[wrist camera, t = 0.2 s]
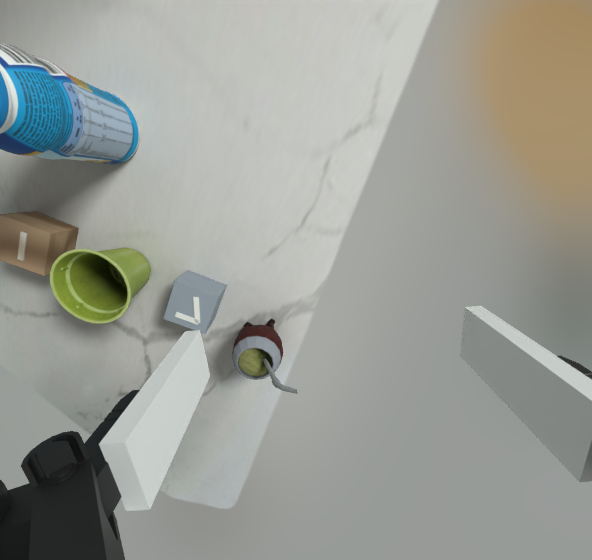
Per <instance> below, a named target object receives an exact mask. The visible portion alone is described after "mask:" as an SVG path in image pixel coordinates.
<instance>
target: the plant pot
mask: <svg viewBox="0 0 592 560" xmlns="http://www.w3.org/2000/svg"><path fill="white" fill-rule="evenodd" d="M114 270H116V272H117V274H118V275H119V276H120V278H118V277H117V276H116V275H115V273H114ZM150 271H151V269H150V265H149V262H148V261H147V259H146V258H145V256H144V255H143V254H141V253H140V252H138V251H136V250H133V249H130V248H120V249H112V250H105V251H94V250H89V249H75V250H71V251H68V252H66V253H64V254H62V255H61V256H59V257H58V258H57V259H56V260H55V262H54V263H53V265H52V268H51V272H50V284H51V288H52V291H53V293H54V295H55V297H56V299H57V300H58V302H59V303H60V304H61V305H62V307H63V308H64V309H65V310H67V311H68V312H69V313H70V314H72V315H73V316H75V317H77V318H79V319H81V320H84V321H86V322H90V323H96V324H102V323H109V322H112V321H114V320H116V319H118V318H119V317H121V316H122V315H123V314H124V313H125V311H126V310H127V308H128V307H129V304H130V301H131V299H132V297H133V296H134V295H135V294H136V293H137V292H138V291H139V290H140V289H141V288H142V287H143V286H144V285H145V284H146V283H147V281H148V280H149V276H150Z"/></svg>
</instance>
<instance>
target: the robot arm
mask: <svg viewBox="0 0 592 560" xmlns="http://www.w3.org/2000/svg"><path fill="white" fill-rule="evenodd" d="M460 356H461V357H462V358H463V360H465V361H466V363H467V364H468V365H469V366H470V367H471V368H472V369H473V370H474V371H475V372H476V373H477V374H478V375H479V376H480V377H481V379H482V380H483V381H484V382H485V383H486V384H487V385H488V386H489V387H490V388H491V389H492V390H493V391H494V392H495V393H496V394H497V395H498V396H499V398H500V399H501V400H502V401H503V402H504V403H505V404H506V405H507V406H508V407H509V408H510V409H511V410H512V411H513V412H514V413H515V414H516V416H517V417H518V418H519V419H520V420H521V421H522V422H523V423H524V424H525V425H526V426H527V427H528V428H529V429H530V430H531V431H532V432H533V434H535V436H536V437H537V438H538V439H539V440H540V441H541V442H542V443H543V444H544V445H545V446H546V447H547V448H548V449H549V450H550V451H551V452H552V454H553V455H554V456H555V457H556V458H557V459H558V460H559V461H560V462H561V463H562V464H563V465H564V466H565V467H566V468H567V469H568V470H569V471H570V472H571V474H572V475H573V476H574V477H575V478H576V479H577V480H578V481H579V482H587V481H592V372H591V371H589V370H588V369H587V368H585V367H583V366H582V365H580V364H579V363H576V362H574V361H572V360H569V359H567V358H564V357H562V356H555V355H554V354H552V353H551V352H549V351H548V350H546V349H545V348H543V347H542V346H540V345H539V344H537V343H536V342H534V341H533V340H531V339H530V338H528V337H527V336H525V335H524V334H522V333H521V332H519V331H518V330H516V329H515V328H513V327H512V326H510V325H509V324H507V323H506V322H504V321H503V320H501V319H500V318H498V317H497V316H495V315H494V314H492V313H491V312H489V311H488V310H486V309H485V308H483V307H482V306H474V307H465V311H464V322H463V332H462V342H461V353H460ZM209 378H210V372H209V368H208V363H207V359H206V355H205V350H204V346H203V341H202V337H201V333H200V330H194V331H185V332H184V333H183V335H182V336H181V337H180V338H179V340H178V341H177V342H176V344H175V345H174V346H173V348H172V349H171V350H170V352H169V353H168V354H167V356H166V357H165V358H164V359H163V361H162V362H161V363H160V365H159V366H158V367H157V369H156V370H155V371H154V373H153V374H152V375H151V376H150V378H149V379H148V380H147V382H146V383H145V384H144V386H143V387H142V388H141V390H133V391H131V392H130V393H129V394H127V395H126V396H125V397H124V398H122V399H121V400H120V401H119V402H118V403H117V405H116V406H115V407H114V408H113V409H112V412H111V413H109V414H108V416H107V417H106V418H105V419H104V422H102V423H101V424H100V425H99V427H98V428H97V429H96V430H95V431H94V433H93V434H92V435H91V436H90V437H89V439H88V440H87V441H86V442H85V444H84V442H83V440H82V438H81V436H80V434H79V433H78V432H73V431H70V432H63V433H61V434H58V435H56V436H52V437H51V438H49V439H47V440H45V441H43V442H42V443H40V444H39V445H38V446H36V447H35V448H34V449H33V450H31V451H30V452H29V454H28V455H27V456H26V457H25V458H24V460H23V462H22V465H21V467H22V469H23V471H24V473H25V475H26V477H27V478H28V480H29V482H30V483H29V484H26V485H23V486H20V487H17V488H14V489H11V490H7V488H6V486H5V485H4V483H3V482H2V481H1V480H0V560H125V557H124V553H123V548H122V543H121V539H120V534H119V530H118V526H117V520H116V518H115V515H114V512H113V511H114V509H115V507H116V506H117V504H118V502H119V500H120V498H121V499H122V502H123V505H124V507H125V509H126V511H134V510H149V509H150V508H151V506H152V503H153V501H154V499H155V497H156V495H157V493H158V490H159V488H160V486H161V484H162V482H163V479H164V477H165V475H166V473H167V470H168V468H169V466H170V464H171V462H172V459H173V457H174V455H175V453H176V451H177V448H178V446H179V444H180V442H181V440H182V437H183V435H184V433H185V431H186V429H187V426H188V424H189V422H190V420H191V418H192V415H193V413H194V411H195V409H196V407H197V404H198V402H199V400H200V398H201V396H202V393H203V391H204V389H205V387H206V385H207V382H208V380H209Z"/></svg>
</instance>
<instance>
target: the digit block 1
mask: <svg viewBox="0 0 592 560" xmlns="http://www.w3.org/2000/svg"><path fill="white" fill-rule="evenodd" d="M78 229H79V228H77V227H74V226H72V225H69V224H67V223H64V222H62V221H59V220H56V219H54V218H51V217H49V216H46V215H43V214H41V213H38V212H36V211H32V212H22V213H12V214H3V215H0V260H1V261H4V262H7V263H10V264H12V265H15V266H18V267H21V268H24V269H26V270H29V271H32V272H35V273H37V274H40V275H43V276H45V275H48V274H50V272H51V268H52V265H53V263H54V262H55V260H56V259H57V258H58V257H59V256H61V255H62V254H64V253H66V252H68V251H71V250H75V246H76V240H77V234H78Z"/></svg>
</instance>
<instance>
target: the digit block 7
mask: <svg viewBox="0 0 592 560" xmlns="http://www.w3.org/2000/svg"><path fill="white" fill-rule="evenodd" d="M226 286H227V285H225V284H223V283H220V282H217V281H215V280H212V279H210V278H207V277H205V276H202V275H199V274H197V273H194V272H192V271H189V270H188V271H187V272H185V273H184V274H183V275H182V276H180V277H179V278H178V279H176V280H175V282H174V285H173V288H172V292H171V295H170V298H169V302H168V305H167V308H166V312H165V315H164V318H163V319H165V320H168V321H171V322H173V323H176V324H179V325H182V326H184V327H187V328H190V329H193V330H200V332H201V333H204V334H205V333H206V332H207V330H208V329H209V327H210V325H211V324H212V322H213V320H214V319H215V316H216V314H217V311H218V308H219V305H220V303H221V300H222V297H223V294H224V292H225V289H226Z"/></svg>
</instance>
